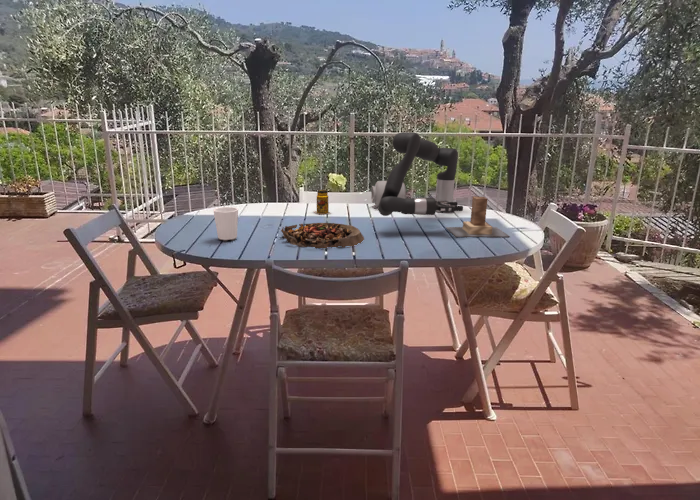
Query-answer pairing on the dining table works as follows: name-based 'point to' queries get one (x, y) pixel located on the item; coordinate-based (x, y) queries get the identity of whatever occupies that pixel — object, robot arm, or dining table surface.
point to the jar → (379, 190)
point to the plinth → (476, 231)
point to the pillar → (478, 211)
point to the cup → (226, 223)
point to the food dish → (322, 235)
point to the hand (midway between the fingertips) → (459, 206)
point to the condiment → (322, 202)
